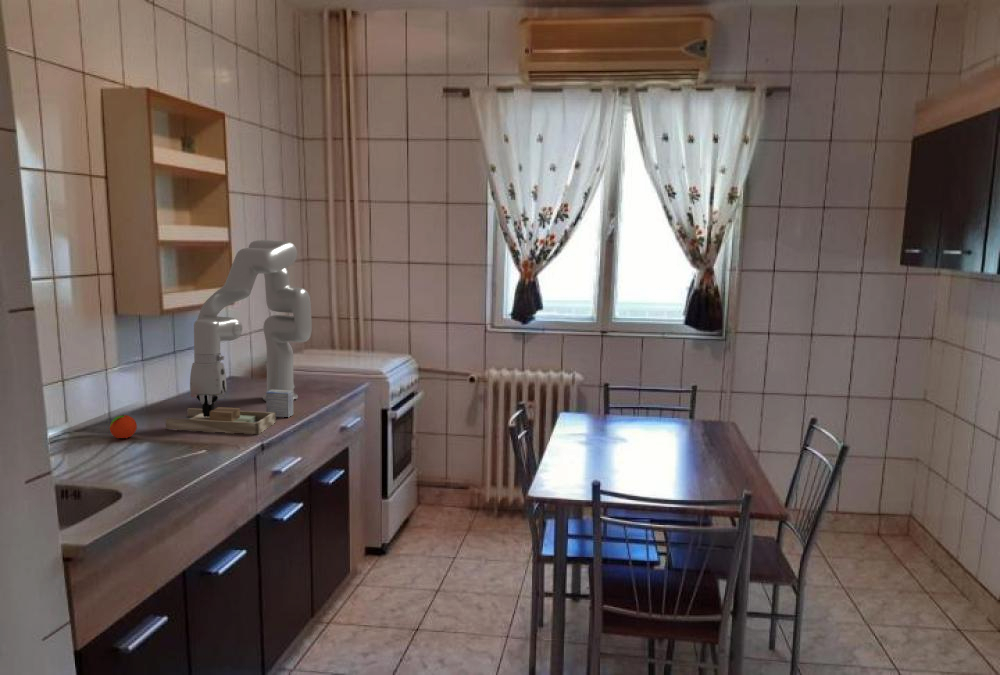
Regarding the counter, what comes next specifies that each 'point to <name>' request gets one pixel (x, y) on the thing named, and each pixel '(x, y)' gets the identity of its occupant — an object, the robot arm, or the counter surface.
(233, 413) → the walnut block
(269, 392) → the medicine box
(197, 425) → the tray
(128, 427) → the clementine
